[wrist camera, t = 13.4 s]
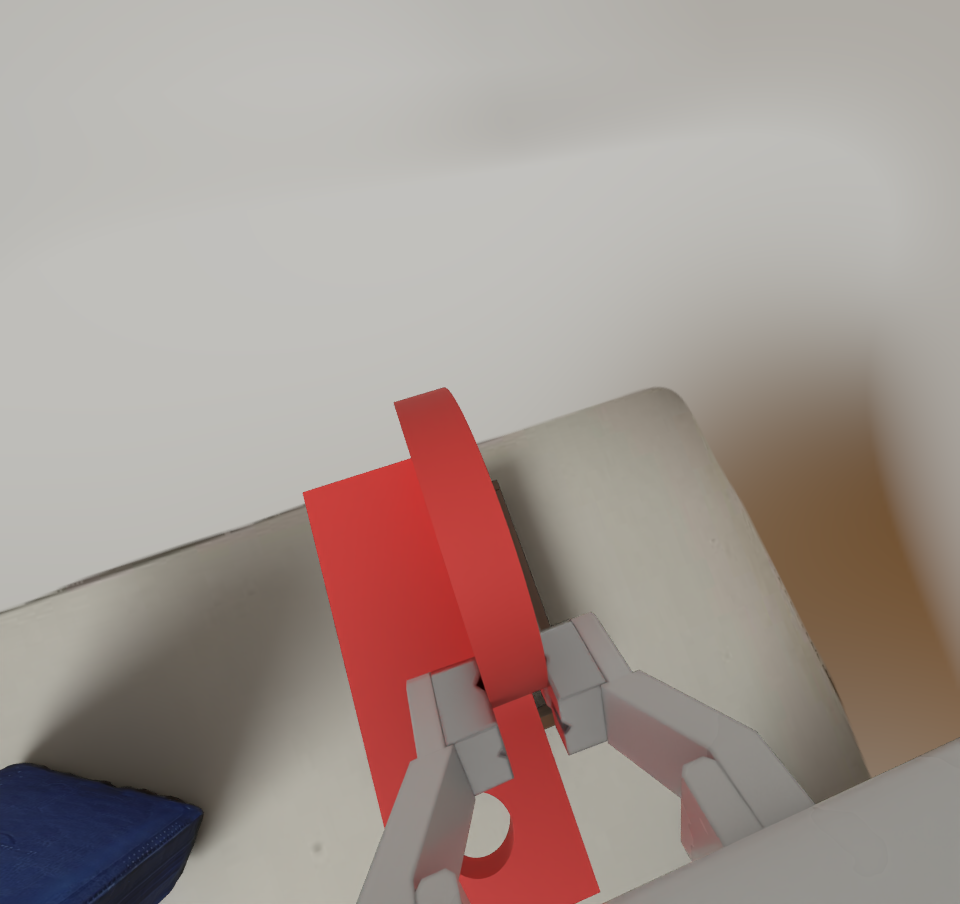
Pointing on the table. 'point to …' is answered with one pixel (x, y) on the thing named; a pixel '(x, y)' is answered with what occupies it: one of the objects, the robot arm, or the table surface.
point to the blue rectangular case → (88, 839)
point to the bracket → (447, 636)
